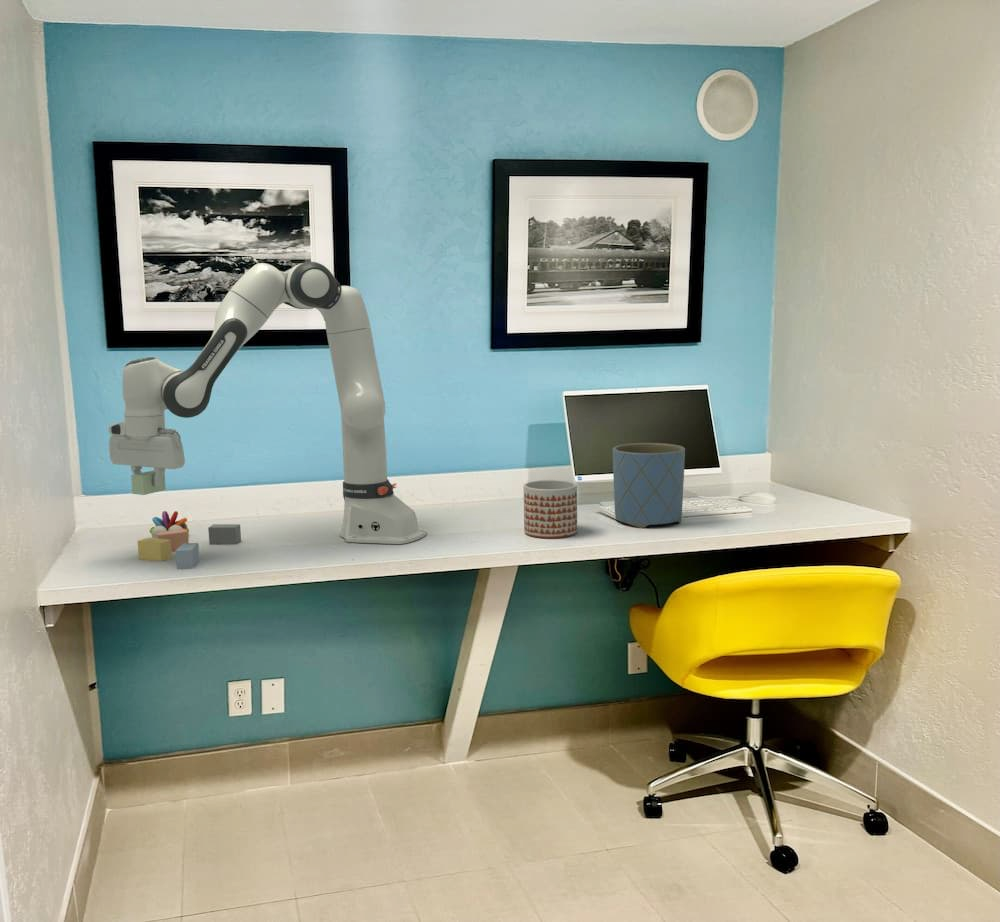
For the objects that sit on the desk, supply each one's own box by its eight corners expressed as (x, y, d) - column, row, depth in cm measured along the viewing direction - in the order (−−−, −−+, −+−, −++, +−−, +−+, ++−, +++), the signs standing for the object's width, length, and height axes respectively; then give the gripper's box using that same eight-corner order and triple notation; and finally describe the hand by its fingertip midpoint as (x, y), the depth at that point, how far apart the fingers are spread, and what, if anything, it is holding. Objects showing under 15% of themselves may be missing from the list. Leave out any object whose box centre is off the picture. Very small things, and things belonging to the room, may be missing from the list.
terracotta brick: (185, 546, 241) (184, 528, 240) (189, 549, 238) (187, 531, 237) (156, 550, 237) (155, 532, 236) (160, 553, 234) (158, 535, 234)
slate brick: (184, 561, 226) (183, 543, 225) (199, 561, 226) (198, 542, 226) (177, 569, 219) (175, 550, 219) (192, 569, 220) (191, 550, 219)
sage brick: (154, 488, 231) (153, 470, 230) (165, 489, 229) (164, 471, 229) (132, 493, 224) (131, 475, 224) (143, 495, 223) (142, 476, 222)
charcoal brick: (241, 541, 245) (240, 524, 244) (236, 544, 241) (235, 527, 241) (214, 541, 245) (213, 524, 245) (209, 544, 242) (208, 527, 241)
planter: (636, 532, 245) (637, 455, 242) (599, 518, 263) (599, 446, 259) (698, 524, 253) (699, 449, 250) (658, 510, 270) (658, 440, 267)
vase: (529, 540, 239) (528, 490, 237) (520, 528, 253) (519, 480, 251) (582, 537, 242) (582, 488, 239) (570, 525, 255) (570, 478, 253)
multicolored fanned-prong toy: (186, 541, 246) (184, 513, 245) (147, 543, 245) (145, 515, 244) (191, 533, 255) (189, 506, 253) (153, 535, 253) (151, 508, 252)
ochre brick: (171, 558, 230) (170, 539, 229) (161, 561, 227) (159, 543, 226) (149, 555, 233) (148, 537, 232) (138, 559, 229) (137, 540, 229)
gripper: (189, 427, 223) (192, 486, 225) (123, 423, 231) (127, 480, 234) (169, 431, 217) (173, 490, 220) (102, 426, 226) (107, 484, 228)
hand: (148, 485), depth 227 cm, fingers closed on sage brick, 3 cm apart
